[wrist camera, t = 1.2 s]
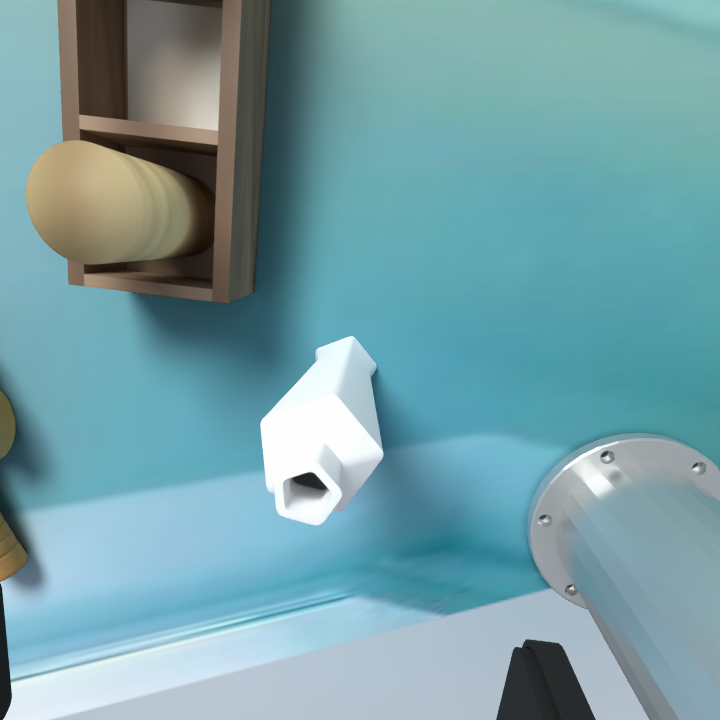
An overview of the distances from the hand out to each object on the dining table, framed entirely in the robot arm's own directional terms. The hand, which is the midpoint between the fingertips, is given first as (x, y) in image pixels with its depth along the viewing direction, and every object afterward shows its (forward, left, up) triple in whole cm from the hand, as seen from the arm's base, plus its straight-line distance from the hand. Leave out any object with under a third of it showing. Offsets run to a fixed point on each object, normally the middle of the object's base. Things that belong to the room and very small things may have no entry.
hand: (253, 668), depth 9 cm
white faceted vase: (0, 0, -21) cm, 21 cm away
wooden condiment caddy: (+10, -15, -21) cm, 28 cm away
